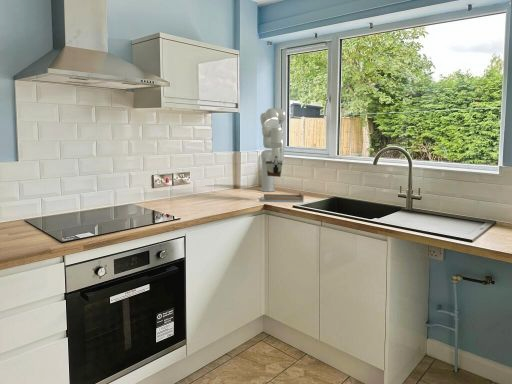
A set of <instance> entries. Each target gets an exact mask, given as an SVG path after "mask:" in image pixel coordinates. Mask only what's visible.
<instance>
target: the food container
mask: <svg viewBox="0 0 512 384" xmlns="http://www.w3.org/2000/svg"><path fill="white" fill-rule="evenodd" d="M283 165H284V162H282V161H279V163H278V173H273V167H274V162H273V163H272V162H271V161H266V166H267V176H274V178H281V176H282V169H283V168H282V167H283Z"/></svg>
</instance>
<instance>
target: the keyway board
mask: <svg viewBox="0 0 512 384" xmlns="http://www.w3.org/2000/svg"><path fill="white" fill-rule="evenodd" d="M304 196H305V195H304V192H302V191H299V194H283V193H282V194H278V193H274V194H273V193H272V194H270V193H263V196H261V197H260V199H261V202H263V203H265V202H266V203H268V202H269V203H272V202H273V203H304V200H305V199H304V198H305V197H304Z"/></svg>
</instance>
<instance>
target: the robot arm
mask: <svg viewBox="0 0 512 384" xmlns="http://www.w3.org/2000/svg"><path fill="white" fill-rule="evenodd" d="M286 114H287V113H286V110H285V109H283V108H271V107H270V108H268V109H266V111H265V112H262V113H261V114H260V124H261V132H262V133H261V135H262V137H263V138H262V143H263V144H262V145H263V148H265V150H262V151H261V154H260V158H261V159H260V160H261V188H259V191H260V192H267V193H268V192H270V193H271V192H275V191H276V188H275V177H274V176H267V166H266V161H271V162H272V163H273V162H274V167H273V173H278V163H279V161H282V162H283V161H284V159H285V153H284V152H285V140H284V138H283V136H284V129H283V127H281V126H279V125H282V124H283V123H284V122H285V120H286ZM283 163H284V162H283Z"/></svg>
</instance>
